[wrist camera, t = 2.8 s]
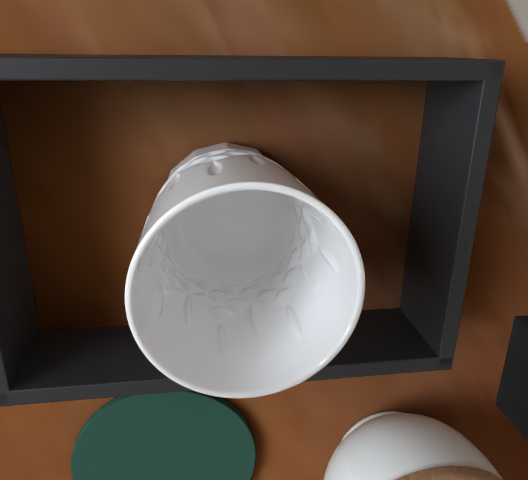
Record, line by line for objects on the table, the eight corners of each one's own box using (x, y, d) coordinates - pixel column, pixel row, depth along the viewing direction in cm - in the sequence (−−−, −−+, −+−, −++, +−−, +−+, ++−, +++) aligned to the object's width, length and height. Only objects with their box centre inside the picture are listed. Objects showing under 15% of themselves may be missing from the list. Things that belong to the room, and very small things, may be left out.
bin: (445, 57, 24) (506, 59, 20) (410, 319, 30) (451, 369, 25) (-29, 53, 21) (-88, 55, 17) (27, 345, 27) (-7, 407, 22)
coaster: (255, 376, 29) (256, 382, 29) (254, 512, 33) (255, 520, 33) (60, 392, 28) (58, 399, 27) (84, 532, 32) (82, 541, 31)
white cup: (184, 102, 23) (183, 139, 14) (328, 169, 26) (409, 240, 16) (124, 246, 25) (88, 360, 16) (262, 297, 28) (299, 423, 18)
